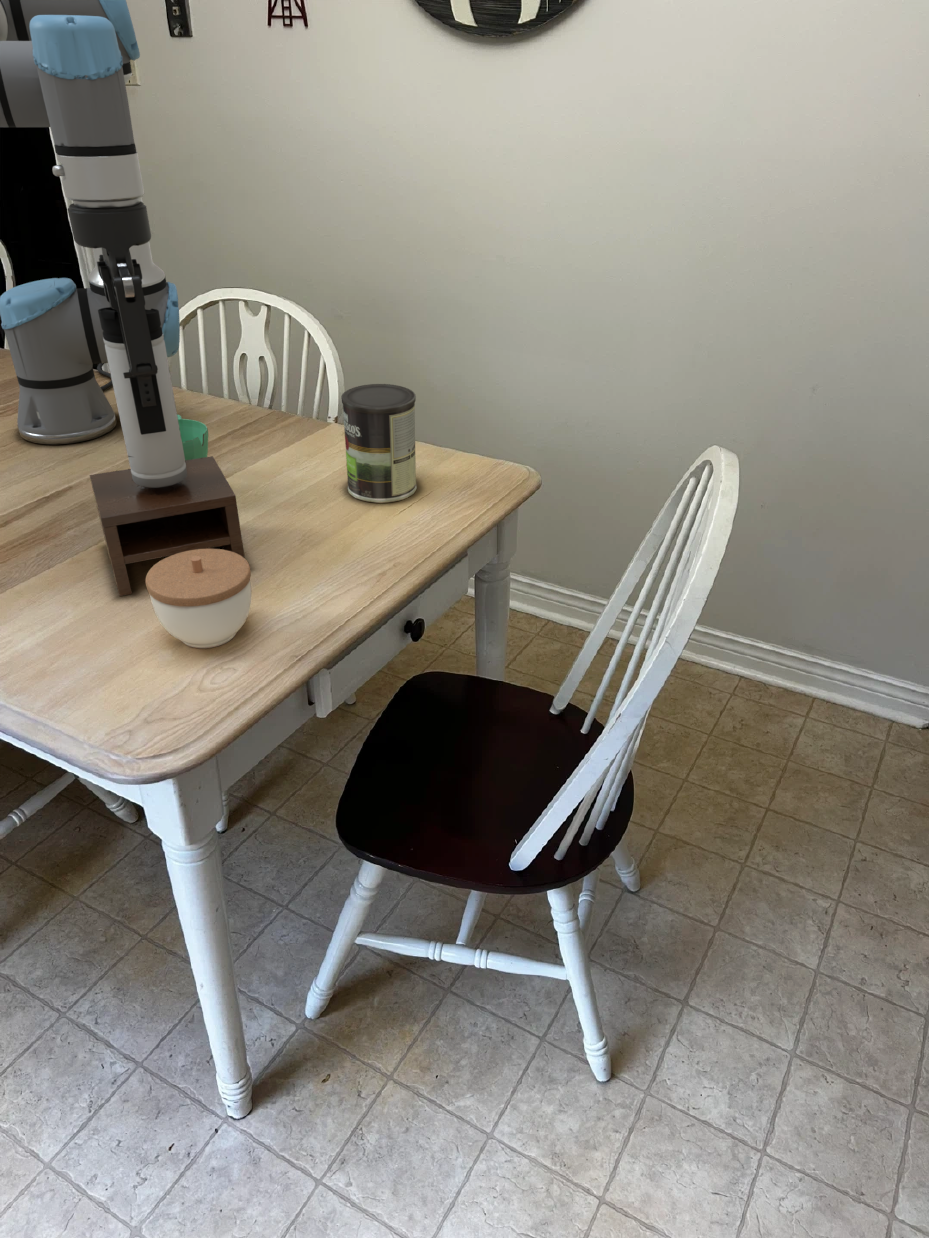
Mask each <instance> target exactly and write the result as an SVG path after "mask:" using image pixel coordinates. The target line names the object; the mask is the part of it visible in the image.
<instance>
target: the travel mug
mask: <svg viewBox="0 0 929 1238" xmlns="http://www.w3.org/2000/svg"><path fill="white" fill-rule="evenodd" d="M145 311H146V316H147V321H148V327H149V332H150V337H151V342H152V348H153V353H154V358H155V363H156V365H157V368H158V370H157V371H158V373H157V374H156V377H157V383H158V388H159V394H160V399H161V405H162V410H163V416H164V421H165V427H166V431H165V432H158V433H151V434H143V435H141V433H140V428H139V423H138V418H137V413H136V408H135V403H134V398H133V393H132V388H131V383H130V378H126V379H125V378H124V375H123V373H125V372H129V369H130V368H129V364H128V359H127V355H126V350H125V346H124V341H123V337H122V331H121V327H120V322H119V316H118V312H117V311H114V310H113V309H112V308H111V307H107V308H101V309H99V310H98V314H99V318H100V323H101V328H102V330H103V340H104V343H105V350H106V354H107V359H108V363H107V364H108V368H109V373H110V374H111V378H110V379H111V380H112V383H113V385H112V387H113V392H114V397H115V401H116V406H117V411H118V417H119V421H120V425H121V431H122V435H123V439H124V444H125V445H124V446H125V450H126V454H127V458H128V459H127V460H128V464H129V467H130V468H129V469H131V474H132V478H133V481H134V482H135V483H136V484H138V485H140V486H143V487H149V488H159V487H166V486H171V485H174V484H177V483H179V482H181V481H182V480H183V479H185V477H186V476H187V469H186V463H185V457H184V451H183V445H182V440H181V434H180V428H179V422H178V416H177V414H178V412H177V405H176V400H175V394H174V388H173V384H172V383H173V381H172V376H171V371H170V366H169V359H168V358H169V357H167V353H166V347H165V341H164V340H163V339H164V335H163V332H162V328H161V327H160V326H161V321H160V315H159V311H158V310H157V309H151V310H146V309H145ZM140 364H142V363H140Z"/></svg>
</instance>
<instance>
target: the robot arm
mask: <svg viewBox="0 0 929 1238" xmlns="http://www.w3.org/2000/svg"><path fill="white" fill-rule="evenodd" d="M132 20H133V19H132V17H131V14H130V10H129V5H128V2H127V0H0V128H50V131H51V135H52V139H53V144H54V145H53V147H54V150H55V154H56V160H57V161H58V162H59V163H60V164H56V165H53V166H52V170H51V171H52V174H53V175H54V176H55V177H62V180H61V182H62V186H63V192H64V195H65V198H67V199H68V200H70V201H72V202H73V203H71V204H69V206H68V208H67V213H68V217H69V222H70V226H71V232H72V237H73V241H74V242H75V243H76V244H77V245H78V246H80V247H83V248H89V249H91V250H92V255H93V260H94V267H93V269H92V270H91V271H90V272H89V274H88V275H87V281H88V285H89V287H84V288H83V287H82V288H81V287H80V288H77V285H76V283H75V282H74V281H73V280H72V278H68V277H59V278H58V277H52V278H44V279H40V280H39V279H38V280H34V281H29V282H26V283H23V284H20V285H16V286H14V287H12V288H10V289H8V290H6V291H4V292H3V293H2V294H1V295H0V320H1V324H0V325H1V328H2V330H3V332H4V335H5V338H6V342H7V346H8V349H9V350H8V351H9V353H10V357H11V360H12V364H13V368H14V372H15V376H16V378H17V382H18V383H17V384H18V387H19V394H18V405H17V406H18V407H17V421H16V423H17V428H18V429H17V430H18V432H19V435H20V437H21V438H22V439H23V440H24V441H28V442H30V443H35V444H41V445H66V444H75V443H80V442H85V441H89V440H93V439H96V438H99V437H102V436H104V435H106V434H107V433H109V432H112V430H114V429H115V427H116V426H117V418H116V413H115V411H114V409H113V406H112V405H111V403H110V401H109V400H108V398H107V397H106V395H105V393H104V391H105V390H107V389H109V388H111V387H113V383H112V378H111V374H110V372H107V371H105V370H103V369H102V368H103V366H104V365H105V364H108V359H107V354H106V350H105V343H104V340H103V330H102V328H101V323H100V318H99V314H98V310H99V309H101V308H107V307H111V308H112V309H113V310H114V311H117V312H118V316H119V322H120V327H121V331H122V337H123V341H124V346H125V350H126V355H127V359H128V364H129V368H130V369H129V372H125V373H123V375H124V378H125V379H126V378H130V383H131V388H132V393H133V398H134V403H135V408H136V413H137V418H138V423H139V428H140V433H141V435H143V434H151V433H158V432H165V431H166V427H165V421H164V416H163V410H162V405H161V399H160V394H159V388H158V383H157V377H156V374H157V373H158V371H157V370H158V368H157V365H156V363H155V358H154V353H153V348H152V342H151V337H150V332H149V327H148V321H147V316H146V311H145V309H146V310H151V309H157V310H158V311H159V315H160V321H161V326H160V327H161V328H162V332H163V335H164V339H163V340H164V341H165V347H166V353H167V358H171V357H174V356H175V355H176V354H177V353H178V351H179V349H180V342H181V323H180V322H181V321H180V320H181V319H180V308H179V294H178V289H177V285H176V284H175V283H174V282H171V281H167V279H166V272H165V271H164V270H163V269H162V268H161V267H159V265H157V264H156V263H154V260H153V253H152V248H151V242H150V241H151V239H152V232H151V225H150V220H149V215H148V209H147V205H145V203H144V201H143V197H144V195H145V187H144V181H143V176H142V170H141V164H140V157H139V153H138V151H137V147H136V143H135V138H134V131H133V125H132V118H131V111H130V105H129V98H128V92H127V87H126V85H127V83H128V82H129V81H130V79H131V78H132V76H133V71H132V64H131V61H133V62H135V61H136V60H139V59H140V57H141V52H140V48H139V44H138V40H137V36H136V32H135V28H134V24H133V21H132ZM140 363H142V364H140ZM93 365H97V367H96V371H97V372H98V373H99V374H100V375H103V376H105V377H107V378H110V379H111V380H110V381H108V382H107V383H105V384H103V385H102V386H100V384H99V383H98V380H97V379H96V375H95V371H94V366H93Z"/></svg>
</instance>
